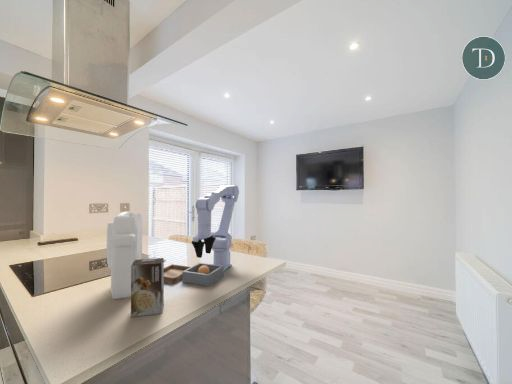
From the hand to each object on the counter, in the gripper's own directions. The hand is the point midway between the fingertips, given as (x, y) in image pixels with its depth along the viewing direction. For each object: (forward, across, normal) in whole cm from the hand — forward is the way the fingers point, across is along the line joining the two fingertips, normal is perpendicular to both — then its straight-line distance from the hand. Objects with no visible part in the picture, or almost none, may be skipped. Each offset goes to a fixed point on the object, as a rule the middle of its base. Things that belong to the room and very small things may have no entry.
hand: (203, 255), depth 101 cm
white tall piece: (+11, +19, -24) cm, 33 cm away
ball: (+7, 0, 0) cm, 7 cm away
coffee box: (+11, +30, -2) cm, 32 cm away
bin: (+10, 0, 0) cm, 11 cm away
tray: (+10, +2, -15) cm, 18 cm away
